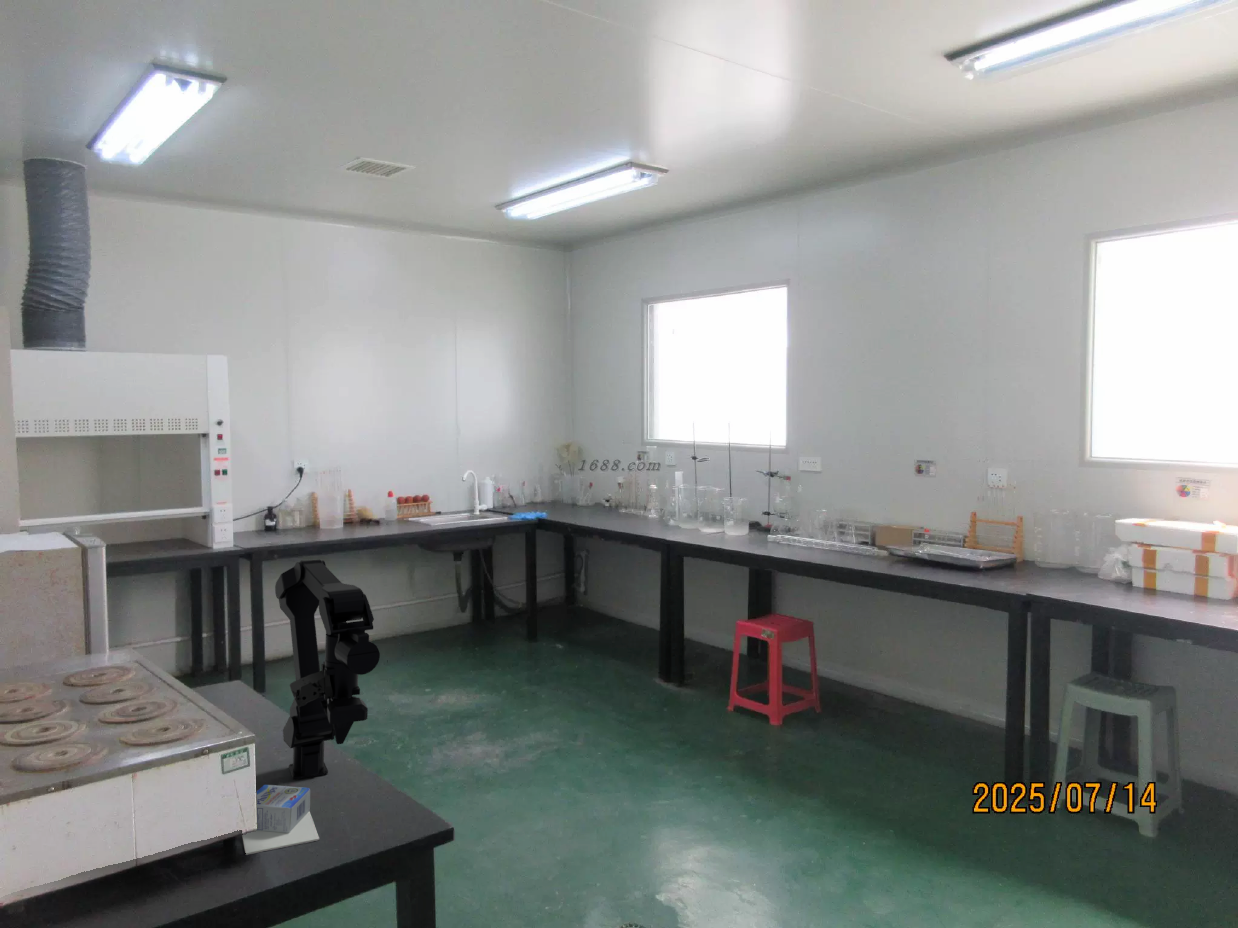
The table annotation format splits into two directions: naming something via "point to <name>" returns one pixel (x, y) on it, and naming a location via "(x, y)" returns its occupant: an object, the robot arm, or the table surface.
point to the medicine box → (281, 807)
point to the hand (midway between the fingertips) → (339, 743)
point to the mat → (281, 837)
